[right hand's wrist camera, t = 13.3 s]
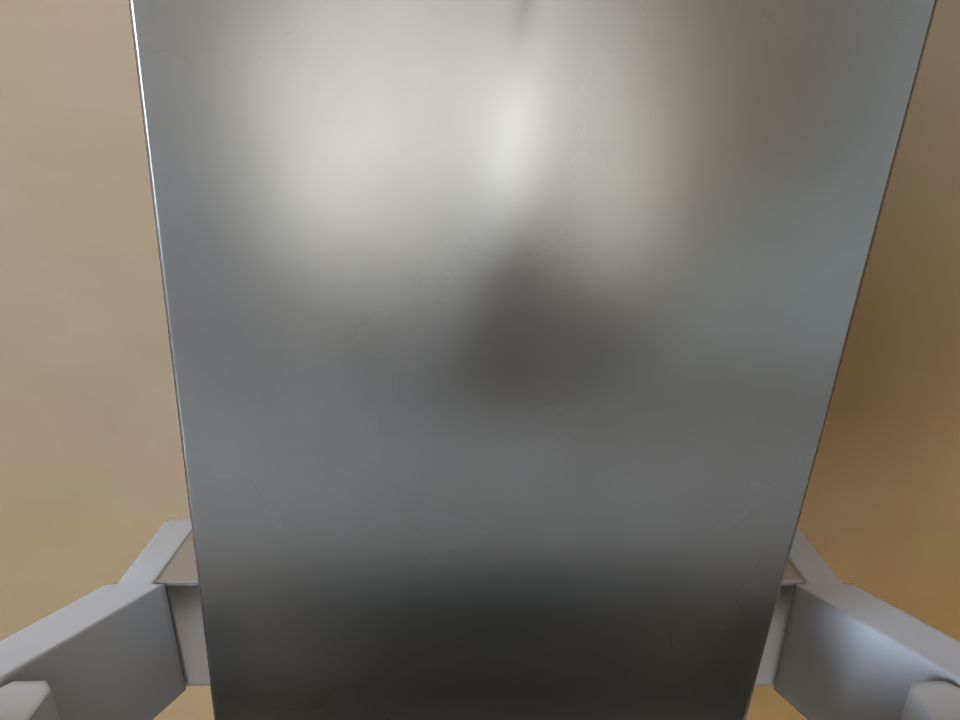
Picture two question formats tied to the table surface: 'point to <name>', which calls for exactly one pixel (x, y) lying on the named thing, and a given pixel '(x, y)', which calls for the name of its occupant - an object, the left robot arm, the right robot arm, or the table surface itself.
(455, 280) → the bar
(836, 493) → the table surface
